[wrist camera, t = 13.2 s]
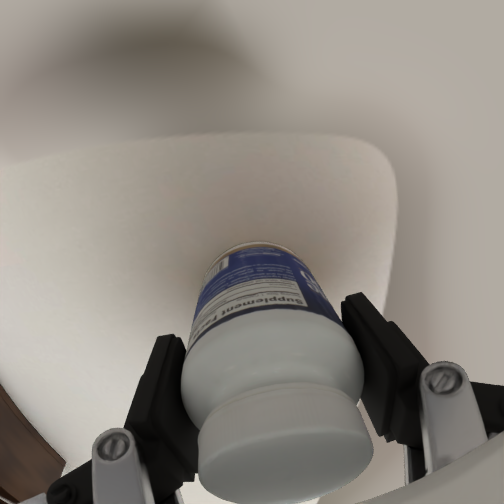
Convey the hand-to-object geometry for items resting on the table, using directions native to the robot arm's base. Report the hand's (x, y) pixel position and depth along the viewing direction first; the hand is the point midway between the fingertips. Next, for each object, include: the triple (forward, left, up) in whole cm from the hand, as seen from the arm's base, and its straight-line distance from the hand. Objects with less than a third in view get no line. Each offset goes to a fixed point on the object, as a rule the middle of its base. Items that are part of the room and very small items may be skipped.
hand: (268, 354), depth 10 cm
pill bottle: (0, 0, -5) cm, 5 cm away
